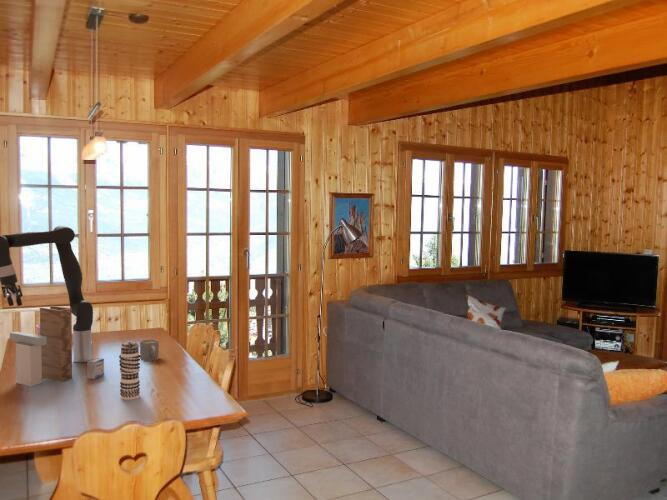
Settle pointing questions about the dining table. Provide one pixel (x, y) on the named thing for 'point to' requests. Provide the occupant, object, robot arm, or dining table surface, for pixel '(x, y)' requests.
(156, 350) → the coffee mug
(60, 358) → the stand
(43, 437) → the dining table surface
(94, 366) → the medicine box
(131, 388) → the decorative candle
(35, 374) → the block
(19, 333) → the bar
